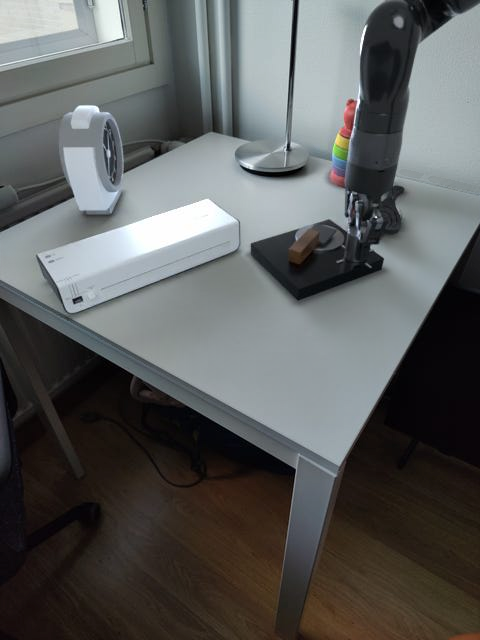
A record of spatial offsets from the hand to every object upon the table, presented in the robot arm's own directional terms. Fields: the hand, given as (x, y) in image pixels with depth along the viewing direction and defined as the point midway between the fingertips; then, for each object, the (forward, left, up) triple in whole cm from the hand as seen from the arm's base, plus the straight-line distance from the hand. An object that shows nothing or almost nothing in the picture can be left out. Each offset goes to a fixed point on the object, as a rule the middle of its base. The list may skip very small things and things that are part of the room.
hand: (356, 251), depth 81 cm
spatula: (+5, -6, -1) cm, 8 cm away
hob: (+5, -5, -3) cm, 8 cm away
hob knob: (0, 0, -1) cm, 1 cm away
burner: (+2, -8, -1) cm, 8 cm away
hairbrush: (-19, -13, -4) cm, 23 cm away
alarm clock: (+32, -48, -4) cm, 58 cm away
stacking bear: (-23, -30, -4) cm, 37 cm away
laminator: (+32, -19, -4) cm, 38 cm away
